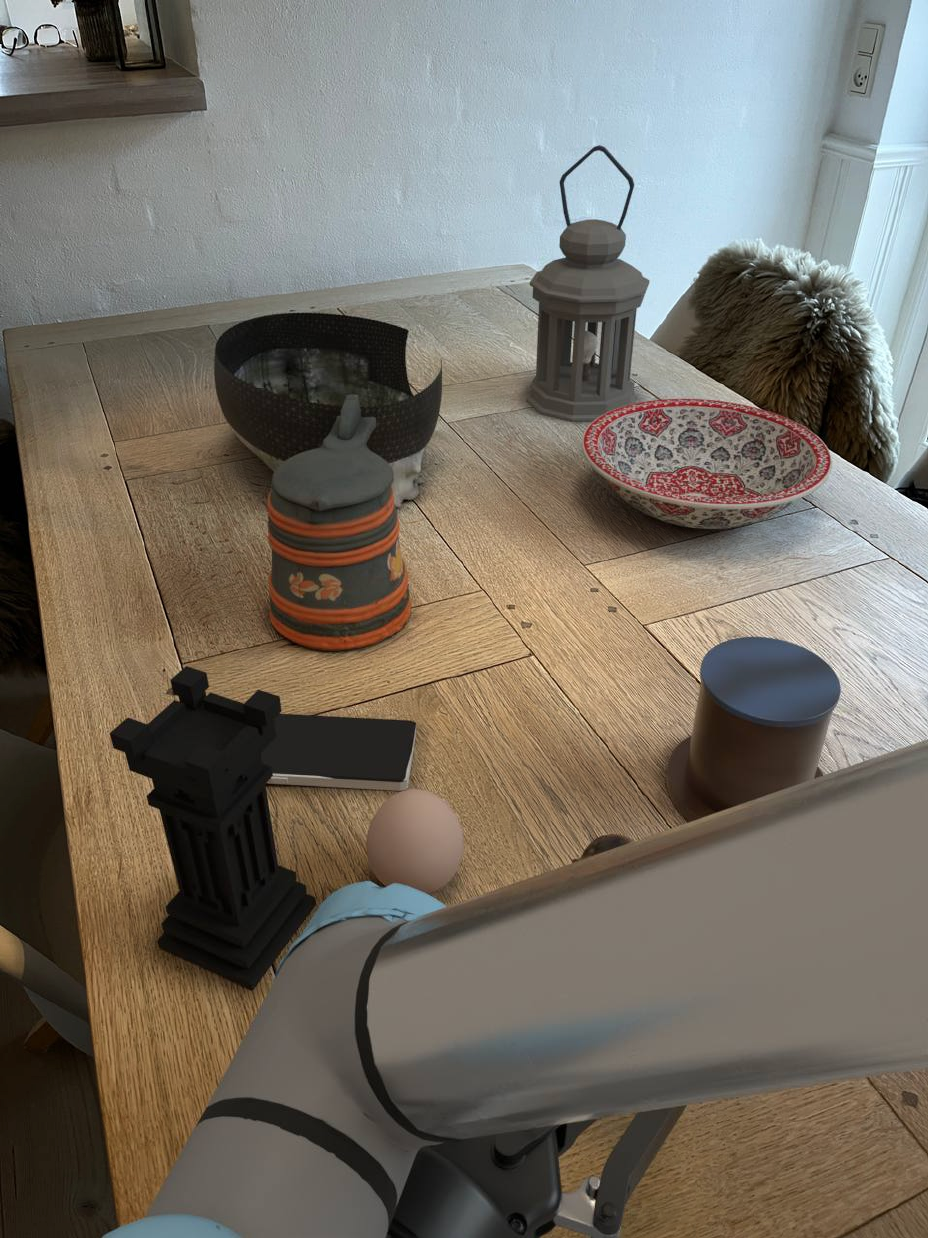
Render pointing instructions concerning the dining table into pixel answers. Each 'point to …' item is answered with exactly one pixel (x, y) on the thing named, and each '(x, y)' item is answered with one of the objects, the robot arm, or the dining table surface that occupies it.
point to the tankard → (336, 542)
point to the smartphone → (341, 752)
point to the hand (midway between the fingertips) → (647, 902)
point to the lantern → (586, 318)
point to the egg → (415, 841)
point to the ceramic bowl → (705, 460)
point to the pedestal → (752, 725)
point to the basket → (324, 388)
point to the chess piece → (218, 828)
